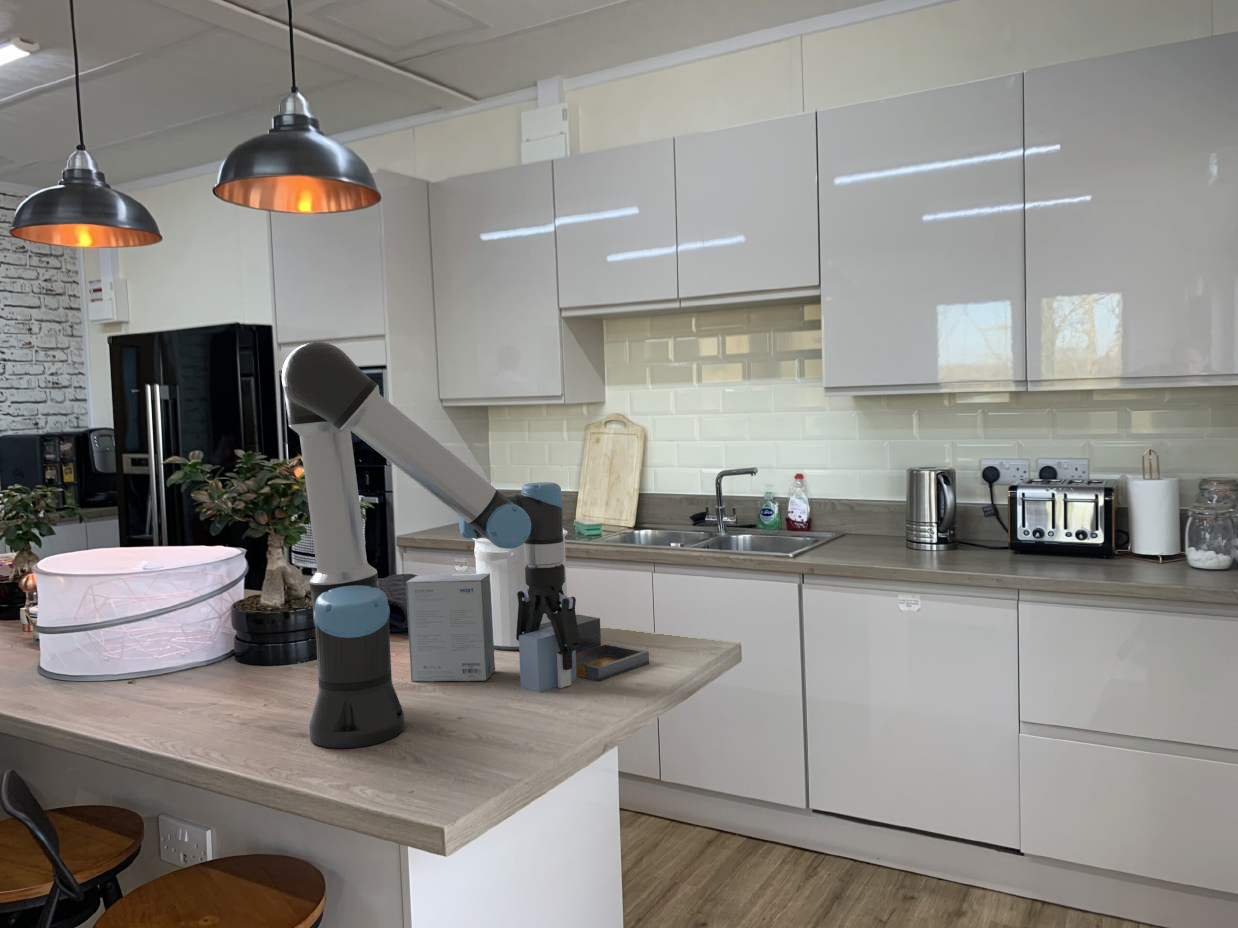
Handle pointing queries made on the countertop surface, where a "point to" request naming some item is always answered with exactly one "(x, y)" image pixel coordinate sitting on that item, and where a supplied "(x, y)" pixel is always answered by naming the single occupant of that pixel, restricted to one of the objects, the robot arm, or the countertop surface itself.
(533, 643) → the block
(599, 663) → the tray
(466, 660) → the hard drive box
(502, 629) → the bucket
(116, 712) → the countertop surface
